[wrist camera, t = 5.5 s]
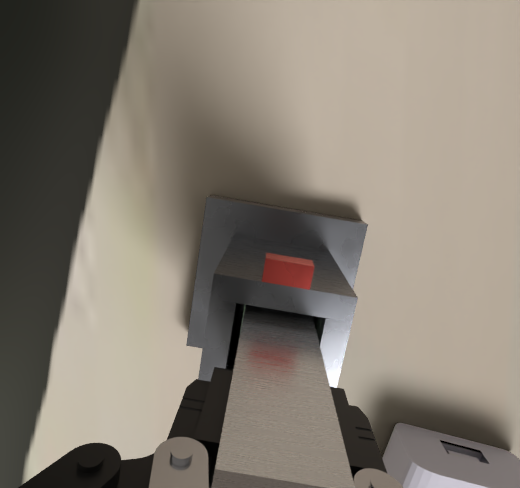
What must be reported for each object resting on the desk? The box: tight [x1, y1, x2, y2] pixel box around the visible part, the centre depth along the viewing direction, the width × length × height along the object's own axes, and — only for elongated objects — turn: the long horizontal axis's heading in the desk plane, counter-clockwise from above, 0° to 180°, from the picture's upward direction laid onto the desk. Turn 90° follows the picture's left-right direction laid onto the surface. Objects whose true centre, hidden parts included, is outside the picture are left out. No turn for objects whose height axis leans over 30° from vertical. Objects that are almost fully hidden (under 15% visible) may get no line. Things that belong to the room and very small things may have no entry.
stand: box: [186, 195, 368, 388], centre depth 22 cm, size 10×10×10 cm
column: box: [211, 305, 355, 488], centre depth 15 cm, size 3×3×17 cm
